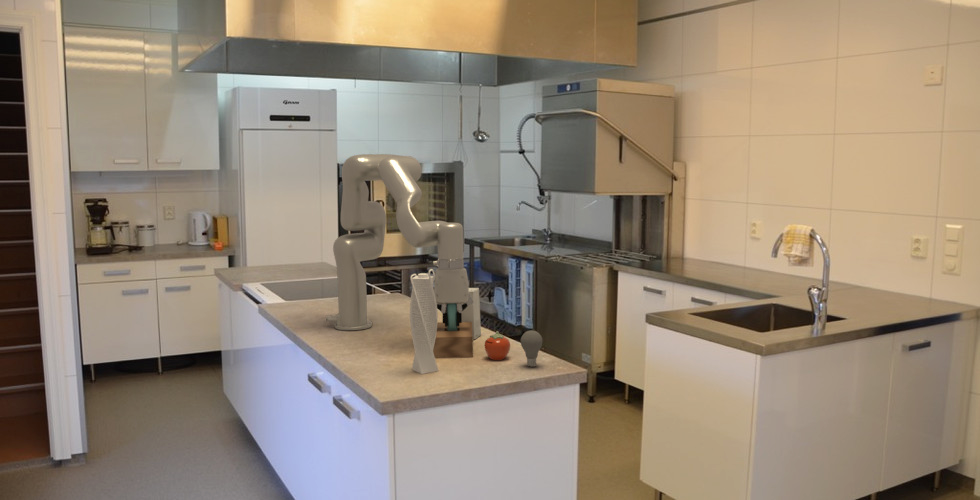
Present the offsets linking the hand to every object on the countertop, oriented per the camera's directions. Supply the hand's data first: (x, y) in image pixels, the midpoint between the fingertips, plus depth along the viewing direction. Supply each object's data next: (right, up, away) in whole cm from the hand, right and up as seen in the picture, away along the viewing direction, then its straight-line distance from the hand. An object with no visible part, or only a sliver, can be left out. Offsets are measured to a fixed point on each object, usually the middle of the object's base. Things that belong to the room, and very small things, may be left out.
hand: (452, 324), depth 236 cm
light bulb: (+23, -10, -19) cm, 31 cm away
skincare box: (+3, -6, +16) cm, 17 cm away
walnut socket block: (0, -7, +1) cm, 7 cm away
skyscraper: (-6, -10, -22) cm, 25 cm away
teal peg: (0, -3, 0) cm, 3 cm away
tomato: (+13, -9, -10) cm, 19 cm away
